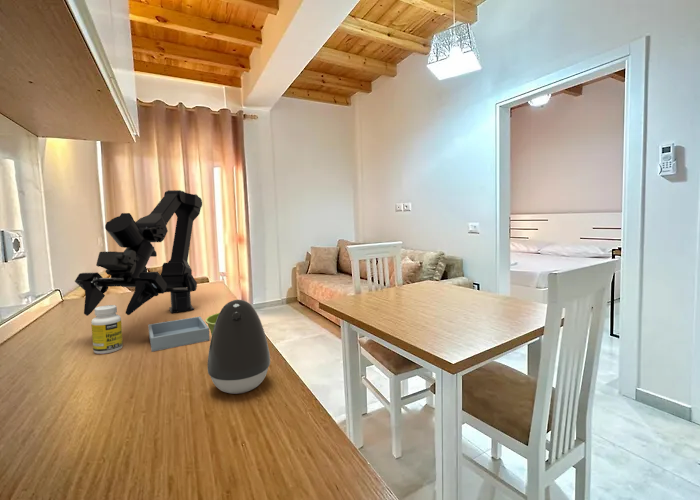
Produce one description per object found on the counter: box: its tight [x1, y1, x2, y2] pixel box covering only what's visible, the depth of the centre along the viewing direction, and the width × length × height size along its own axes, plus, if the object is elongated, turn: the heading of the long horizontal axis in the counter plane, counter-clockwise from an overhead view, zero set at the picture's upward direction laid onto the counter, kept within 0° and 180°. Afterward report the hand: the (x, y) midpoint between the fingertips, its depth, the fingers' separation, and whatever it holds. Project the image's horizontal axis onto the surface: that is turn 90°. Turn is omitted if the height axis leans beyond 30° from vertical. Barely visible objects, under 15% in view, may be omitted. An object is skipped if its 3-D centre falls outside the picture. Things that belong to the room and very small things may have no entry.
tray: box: [147, 316, 211, 352], centre depth 82 cm, size 12×12×3 cm
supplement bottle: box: [90, 304, 124, 355], centre depth 75 cm, size 5×5×10 cm
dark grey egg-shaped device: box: [207, 299, 271, 395], centre depth 57 cm, size 10×10×15 cm
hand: (106, 314), depth 75 cm, fingers open, 9 cm apart
